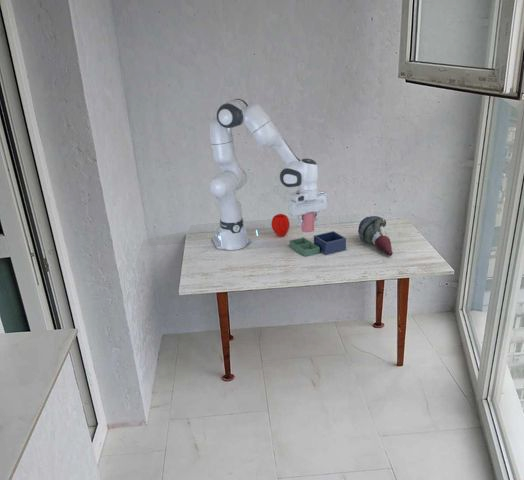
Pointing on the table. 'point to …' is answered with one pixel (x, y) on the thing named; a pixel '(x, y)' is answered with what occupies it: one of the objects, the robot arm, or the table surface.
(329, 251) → the navy blue open box
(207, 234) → the table surface
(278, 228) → the red rounded egg shape
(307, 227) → the cup
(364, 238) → the figurine
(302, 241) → the rack
